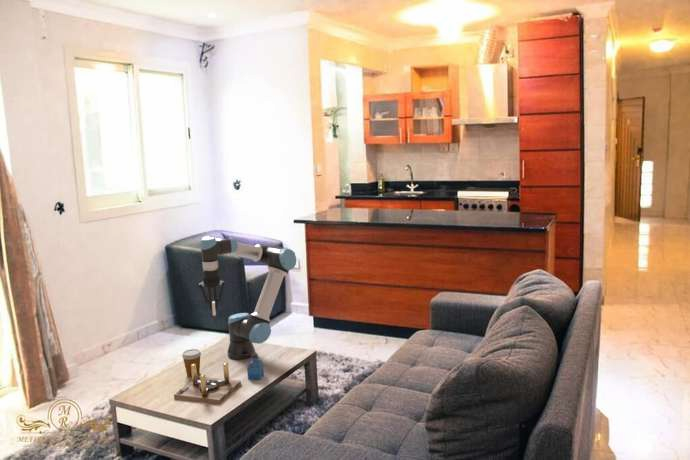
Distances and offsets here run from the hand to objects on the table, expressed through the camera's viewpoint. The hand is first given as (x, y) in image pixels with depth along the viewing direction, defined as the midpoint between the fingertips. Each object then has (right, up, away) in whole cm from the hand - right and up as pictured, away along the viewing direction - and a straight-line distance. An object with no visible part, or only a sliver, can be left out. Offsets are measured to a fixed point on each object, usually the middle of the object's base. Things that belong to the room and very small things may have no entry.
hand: (214, 314), depth 289 cm
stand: (0, -35, -13) cm, 37 cm away
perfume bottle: (+21, -32, +1) cm, 38 cm away
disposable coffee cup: (-13, -32, +8) cm, 36 cm away
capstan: (-2, -33, -12) cm, 35 cm away
